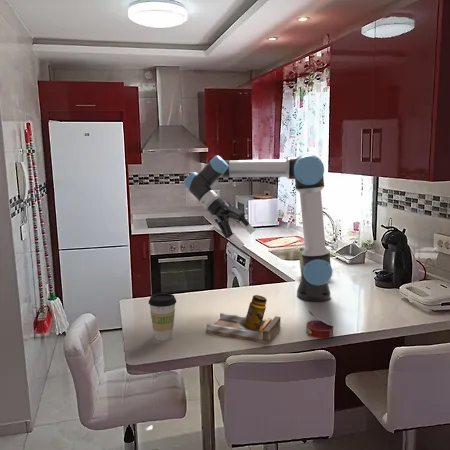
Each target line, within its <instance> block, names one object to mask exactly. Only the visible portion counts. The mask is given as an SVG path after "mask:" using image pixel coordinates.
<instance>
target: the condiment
mask: <svg viewBox="0 0 450 450" xmlns="http://www.w3.org/2000/svg"><path fill="white" fill-rule="evenodd" d="M267 301H268V300H267V297H265V296H263V295H258V294H254V295H252V299H251V301H250V302H249V306H248V310H247V314H246V315H245V317H246V320H245V322H241V321H238V325H239V327H240V328H241V329H246V330H250V331H256V332H260V327H261V324H262V320H263V319H264V316H265V312H266V308H267V306H266V305H267Z"/></svg>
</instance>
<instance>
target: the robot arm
mask: <svg viewBox="0 0 450 450" xmlns="http://www.w3.org/2000/svg"><path fill="white" fill-rule="evenodd" d="M324 172H325V166H324V163H323V161H322V159H320V158H319V157H318V156H316V155H314V154H304V155H300V156H299V155H298V156H289V157H287V158H286V159H239V160H230V159H229V160H228V159H227V160H224V159H223V158H222V156H220V155H215V156H214V157H212V159H211V160H210V161H208V163H207V164H206V165H205V166H204V167H203V168H202V169H201V171H200V172H198V173H197V172H195V171H193V172H191V173H190V174H189V175H188V176H186V178H185V179H184V181H183V184H184V186H185V187H186V188H187V189H188V192H190V193H191V194H192V195H193V196H194V197H195V198H196V200H197V201H199V203H200V204H201V205H202V206H203V207H204V208H205V209H207V211H208V212H209V214H211V215H212V216H216V218H215V219H214V221H215V223H216V224H217V226H218V227H219V229H220V231H221V233H222V235H223V236H224V238H225V239H226V240H227V239H230V240H231V241H232V243H234V244H235V245H236V246H237V247H238V249H241V248H242V247H243V246H244V245H245V243H244V242H243V241H242V240H241V238H239V237H238V236H237V235H236V234H235V233H234V232H233V231H232V228H231V226H230V223H229V220H230V219H233V220H234V221H238V222H239V224H240V225H241V226H242V227H243V228H244V229H245V230H246V231H247V232H248V234H250V235H251V234H253V233H254V232H255V231H256V229H255V228H254V226H252V224H250V222H249V221H248V220H247V219H246V218H245V215H246V213H245V211H242V210H240V209H239V208H237V207H235V206H233V205H232V204H231V203H230V202H229V201H227V202H225V201H224V200H223V199H222V198H221V197H219V194H218V193H216V191H215V190H213V189H212V187H211V186H213V185H214V183H215V182H216V181H217V180H219V178H287V179H288V180H294V181H295V182H294V183H295V184H294V185H295V190H296V192H298V193H299V197H300V208H301V221H302V231H303V232H302V233H303V241H304V245H303V246H304V248H303V247H302V248H303V249H302V271H301V270H300V275H301V276H300V278H301V279H300V282H299V284H298V287H297V290H296V297H297V298H298V299H301V300H304V301H307V302H324V301H325V302H326V301H328V300H330V299H331V289H330V285H329V283H328V282H329V281H330V280H331V278H332V276H333V268H332V264H331V253H330V250H329V249H328V248H327V247H326V237H325V235H326V234H325V225H324V214H323V213H324V212H323V203H322V202H323V201H322V190H323V189H324V188H325V180H324V174H325V173H324Z"/></svg>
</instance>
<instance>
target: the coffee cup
mask: <svg viewBox="0 0 450 450" xmlns="http://www.w3.org/2000/svg"><path fill="white" fill-rule="evenodd" d="M176 303H177V298H176V297H175V295H174V294H172V293H167V292H161V293H160V292H159V293H156V294H152V295H151V296H150V298H149V299H148V305H149V307H150V309H149V310H150V311H149V312H150V320H151V324H152V329H153V336H154V339H155V340H156V341H168V340H170V339H172V337H173V329H174V323H175V322H174V321H175V313H176Z"/></svg>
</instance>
